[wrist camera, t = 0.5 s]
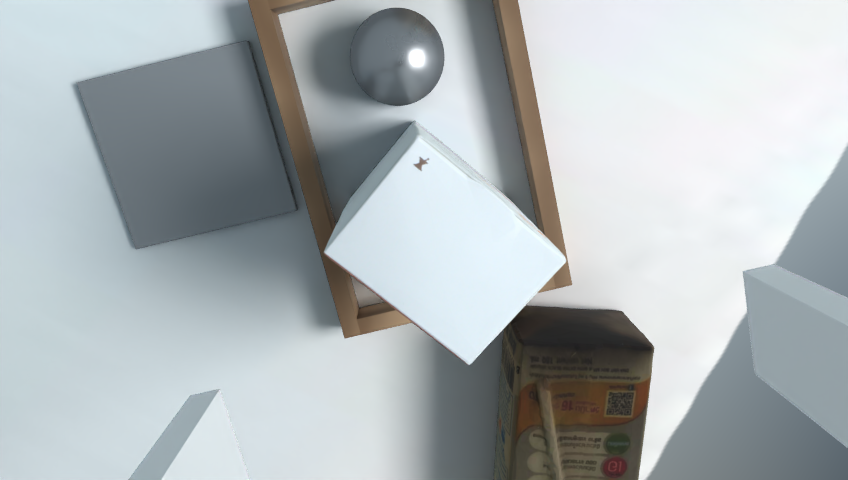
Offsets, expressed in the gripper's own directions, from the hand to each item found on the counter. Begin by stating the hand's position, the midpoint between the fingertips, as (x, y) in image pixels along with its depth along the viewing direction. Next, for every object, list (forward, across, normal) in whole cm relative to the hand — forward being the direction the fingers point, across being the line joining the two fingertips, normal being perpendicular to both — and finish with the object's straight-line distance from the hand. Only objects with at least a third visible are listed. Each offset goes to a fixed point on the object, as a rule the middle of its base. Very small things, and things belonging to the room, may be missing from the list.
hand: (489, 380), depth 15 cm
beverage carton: (+23, +4, -17) cm, 29 cm away
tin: (+23, 0, +9) cm, 25 cm away
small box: (+23, 0, +1) cm, 23 cm away
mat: (+23, -14, +7) cm, 28 cm away
